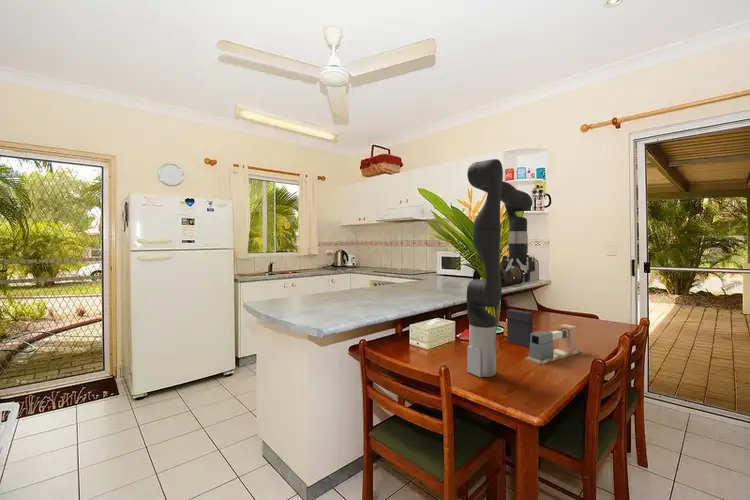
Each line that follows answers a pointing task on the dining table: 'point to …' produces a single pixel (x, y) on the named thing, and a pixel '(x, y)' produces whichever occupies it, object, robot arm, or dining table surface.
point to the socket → (568, 339)
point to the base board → (557, 355)
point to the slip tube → (560, 333)
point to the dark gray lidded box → (519, 327)
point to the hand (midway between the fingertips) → (517, 281)
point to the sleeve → (541, 345)
